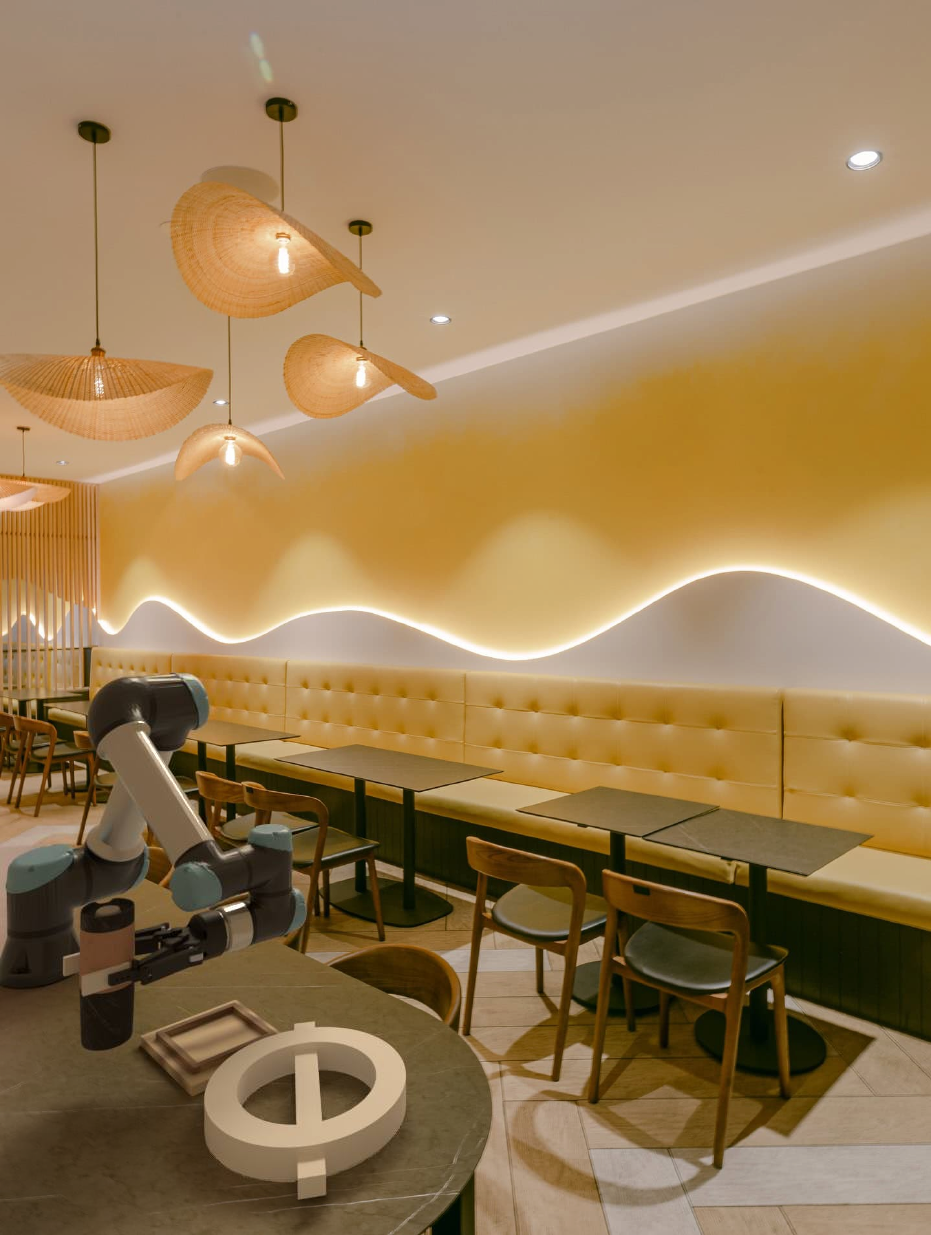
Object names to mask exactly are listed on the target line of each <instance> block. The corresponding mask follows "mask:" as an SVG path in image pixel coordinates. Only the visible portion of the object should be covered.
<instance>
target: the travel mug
mask: <svg viewBox="0 0 931 1235" xmlns="http://www.w3.org/2000/svg"><path fill="white" fill-rule="evenodd" d="M135 907H136V906H135V903H134V901H133V900H132V899H129V898H125V897H114V898H111V899H110V900H109V901H106V902H101V903H100V902H98V901H96V902H92V903H89V904H86V905H83V906H82V907H81V909H80V912H79V913H80V916H79V918H80V919H79V920H80V924H79V941H80V972H79V977H78V978H79V980H78V981H79V982H78V984H79V987H78V989H79V991H78V992H79V1016H80V1017H79V1020H80V1023H79V1024H80V1043H81V1045H82V1047H83V1049H86V1050H88V1051H93V1052H101V1051H107V1050H113V1049H115V1048H117V1047H119V1046H122V1045H124V1044H125V1043H126V1042H128V1041H129V1040H130V1039H131V1037H132V1035H133V1032H134V1010H135V1009H134V1008H135V985H136V984H135V983H136V982H132V981H130V982H126V983H123V984H120V985H117V986H114V987H111V988H108V989H105V990H102V991H99V992H96V993H93V994H90V995H87V996H83V995H82V976H83V975H86V974H90V973H93V972H96V971H99V970H103V969H106V968H109V967H113V966H117V965H120V964H122V963H125V962H129V963H130V968H131V967H132V959H136V956H135V931H136V926H135V924H136V923H135V922H136V921H135V918H136V916H135V910H136V908H135Z"/></svg>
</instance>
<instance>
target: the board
mask: <svg viewBox="0 0 931 1235" xmlns="http://www.w3.org/2000/svg"><path fill="white" fill-rule="evenodd" d="M279 1033H282V1032H280V1031H279V1030H278V1029H277V1028H275V1027H274V1026H273V1025H271V1024H270V1023H268V1022H267V1021H265V1020H264V1019H263V1018H261V1017H260V1016H259V1015H257V1014H256V1013H255V1012H254V1011H252V1010H251V1009H249V1008H248V1007H246V1006H245V1005H244V1004H242V1003H241V1002H240V1001H238V1000H237V999H234V1000H230V1001H229V1002H225V1003H224V1004H221V1005H218V1006H214V1007H213V1008H210V1009H208V1010H205V1011H203V1012H200V1013H197V1014H194V1015H192V1016H188V1017H187V1018H183V1019H181V1020H179V1021H177V1022H174V1023H171V1024H168V1025H165V1026H163V1027H161V1028H157V1029H155V1030H152V1031H149V1032H147V1033H145V1034H142V1035H140V1036H139V1037H140V1040H139V1041H140V1046H141V1047H142V1048H143V1049H144V1050H145V1051H146V1053H148V1055H150V1057H152V1058H153V1059H154V1061H156V1062H157V1063H158V1064H159V1065H160V1066H161V1067H162V1068H163V1069H164V1070H165V1071H166V1072H167V1073H168V1074H169V1075H170V1076H171V1077H172V1078H173V1079H174V1080H175V1081H176V1082H177V1083H178V1084H179V1085H180V1087H181V1088H183V1089H184V1090H185V1091H186V1092H187V1093H188V1094H189V1095H190V1096H191V1097H195V1096H197V1095H199V1094H201V1093H203V1092H204V1093H205V1090H206V1087H207V1084H208V1082H209V1080H210V1078H211V1077H212V1075H213V1074H214V1072H215V1071H216V1070H217V1069H218V1068H219V1066H220V1065H221V1064H222V1063H223V1062H225V1061H226V1060H227V1059H228V1058H229V1057H231V1056H232V1055H233V1054H235V1053H236V1052H238V1051H239V1050H241V1049H243V1048H244V1047H246V1046H248V1045H250V1044H252V1043H254V1042H256V1041H259V1040H261V1039H264V1038H266V1037H269V1036H272V1035H275V1034H279Z"/></svg>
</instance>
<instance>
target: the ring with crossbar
mask: <svg viewBox="0 0 931 1235" xmlns="http://www.w3.org/2000/svg"><path fill="white" fill-rule="evenodd" d="M293 1026H294V1027H293V1029H292V1030H286V1031H283V1032H281V1033H279V1034H275V1035H272V1036H269V1037H266V1038H264V1039H261V1040H259V1041H256V1042H254V1043H252V1044H250V1045H248V1046H246V1047H244V1048H243V1049H241V1050H239V1051H238V1052H236V1053H235V1054H233V1055H232V1056H231V1057H229V1058H228V1059H227V1060H226V1061H225V1062H223V1063H222V1064H221V1065H220V1066H219V1068H218V1069H217V1070H216V1071H215V1072H214V1074H213V1075H212V1077H211V1078H210V1080H209V1082H208V1084H207V1087H206V1090H205V1091H204V1098H203V1102H204V1107H203V1109H204V1112H203V1114H204V1121H203V1122H204V1127H203V1128H204V1129H203V1130H204V1131H203V1132H204V1140H205V1144H206V1146H207V1149H208V1148H209V1149H208V1150H209V1152H210V1151H211V1152H212V1153H213V1155H214V1156H215V1157H216V1159H218V1160H219V1161H220V1162H221V1163H222V1164H223V1165H225V1166H227V1167H228V1168H230V1169H231V1170H234V1171H236V1172H238V1173H241V1174H242V1175H248V1176H251V1177H257V1178H263V1179H274V1180H275V1179H276V1180H279V1179H280V1180H281V1179H283V1180H285V1179H287V1180H290V1179H297V1181H298V1182H297V1200H303V1199H310V1198H316V1197H322V1196H326V1195H327V1177H326V1175H327V1174H331V1173H334V1172H336V1171H339V1170H342V1169H344V1168H347V1167H348V1166H350V1165H352V1164H354V1163H356V1162H359V1161H360V1160H363V1159H364V1158H367V1157H368V1156H370V1155H372V1154H373V1153H374V1152H376V1151H377V1150H379V1149H380V1148H382V1146H384V1145H385V1144H386V1143H387V1142H388V1141H389V1140H390V1139H391V1138H392V1137H393V1136H394V1135H395V1134H396V1135H397V1133H398V1132H399V1130H400V1128H401V1127H402V1124H403V1123H404V1122H403V1121H404V1120H405V1115H406V1110H407V1072H406V1066H405V1063H404V1060H403V1059H402V1057H401V1056H400V1054H399V1053H398V1052H397V1050H396V1049H395V1048H394V1047H393V1046H391V1045H390V1044H389V1043H387V1042H386V1041H385V1040H383V1039H381V1038H379V1037H377V1036H375V1035H374V1034H373V1035H372V1034H371V1033H368V1032H365V1031H360V1030H357V1029H351V1028H345V1027H336V1026H335V1027H334V1026H318V1027H317V1026H316V1021H315V1020H314V1021H307V1022H298V1023H294V1025H293ZM319 1071H331V1072H337V1073H342V1074H346V1075H349V1076H352V1077H354V1078H356V1079H358V1080H360V1081H361V1082H363V1083H364V1084H365V1085H366V1086H368V1087H370V1088H369V1089H370V1091H369V1093H368V1095H366V1096H365V1098H364V1099H363V1100H362V1101H360V1102H359V1103H358V1104H356V1106H354V1107H352V1108H351V1109H350V1110H347V1111H345V1112H343V1113H341V1114H339V1115H337V1116H334V1117H331V1118H328V1119H325V1120H323V1116H322V1115H323V1114H322V1102H321V1091H320V1090H321V1089H320V1075H319V1073H320V1072H319ZM293 1074H294V1082H295V1085H294V1086H295V1088H294V1090H295V1123H296V1124H283V1123H282V1124H281V1123H275V1122H269V1121H266V1120H264V1119H260V1118H259V1117H256V1116H254V1115H253V1114H251V1113H249V1112H248V1111H247V1110H246V1109H245V1108H244V1107H243V1105H244V1104H245V1102H246V1101H247V1100H248V1099H249V1098H250V1097H251V1096H252V1095H253V1094H254V1093H255V1092H257V1091H258V1090H260V1087H261V1088H262V1087H263V1086H265V1085H267V1084H270V1083H271V1082H273V1081H275V1080H278V1079H280V1078H283V1077H286V1076H289V1075H293ZM257 1089H258V1090H257ZM252 1093H253V1094H252ZM250 1095H251V1096H250ZM249 1096H250V1097H249ZM247 1098H248V1099H247ZM400 1126H401V1127H400ZM398 1129H399V1130H398ZM397 1131H398V1132H397ZM396 1132H397V1133H396ZM396 1135H395V1136H396ZM395 1136H394V1137H395ZM394 1137H393V1138H394ZM211 1152H210V1153H211ZM213 1155H212V1156H213ZM214 1156H213V1157H214ZM215 1157H214V1158H215ZM216 1159H215V1160H216ZM221 1163H220V1164H221ZM222 1164H221V1165H222ZM223 1165H222V1166H223ZM228 1168H227V1169H228ZM231 1170H230V1171H231ZM242 1175H241V1176H242Z"/></svg>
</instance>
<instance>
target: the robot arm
mask: <svg viewBox="0 0 931 1235" xmlns="http://www.w3.org/2000/svg"><path fill="white" fill-rule="evenodd" d="M209 715H210V699H209V697H208V693H207V690H206V688H205V685H204V684H203V682H201V680H200V679H199V678H198V677H197V676H195V675H193V674H191V673H187V672H185V673H184V672H178V673H176V672H170V673H168V674H157V675H156V674H155V675H142V676H141V675H140V676H139V675H137V676H123V677H119V678H116V679H113V680H111V681H109V682H108V683H106V684H105V685H104V686H102V687H101V688H100V689H99V690H98V691H97V693H96V694H95V695H94V697H93V698H92V700H91V702H90V705H89V707H88V711H87V715H86V716H87V717H86V726H87V733H88V737H89V740H90V743H91V746H92V747H93V749H94V750H95V752H96V754H97V756H98V757H99V758H100V759H102V760H103V761H108V762H109V763H110V765H111V767H112V769H113V770H114V771H115V773H116V777H115V780H114V783H113V786H112V788H111V790H110V791H111V792H110V795H109V797H108V800H107V802H106V804H105V808H104V811H103V812H102V813H103V814H102V817H101V818H100V822H99V824H97V825H95V826H94V827H92V828H91V829H90V830H89V831H88V833H87V835H86V838H85V841H84V843H83V845H82V846H78V847H75V848H73V847H72V846H71V845H68V844H64V843H63V844H59V843H58V844H57V843H56V844H52V845H49V846H47V845H43V846H40V847H37V848H34V849H31V850H28V851H26V852H24V853H22V854H19V855H18V856H17V857H16V858H14V859H13V860H12V862H11V863H9V865H8V867H7V872H6V873H7V874H6V882H5V890H6V939H5V942H4V945H3V948H2V952H1V954H0V985H1V986H4V987H6V988H15V989H22V988H23V989H25V988H26V989H27V988H36V987H41V986H46V985H49V984H53V983H56V982H59V981H62V980H65V979H67V978H69V977H70V976H73V975H75V974H76V973H77V974H79V973H80V937H79V936H78V933H77V931H76V927H75V923H74V920H75V919H74V918H75V916H74V911H75V909H76V908H79V907H84V906H86V905H87V904H89V903H92V902H99V901H102V900H105V899H109V898H111V897H115V896H119V895H121V894H124V893H127V892H128V891H130V890H133V889H134V888H137V887H138V886H139V885H141V883H142V882H143V881H144V879H145V877H146V876H147V874H148V871H149V868H150V860H149V859H148V858H149V857H150V851H149V848H148V847H149V846H148V845H147V843H146V841H145V839H144V836H143V835H142V834H143V831H144V829H145V826H146V825H147V826H148V827H149V830H150V831H151V832H152V834H153V836H154V837H155V839H156V841H157V843H158V844H159V845H160V847H161V849H162V850H163V852H164V854H165V856H166V857H167V858H168V861H169V862H170V863H171V865H172V867H173V869H174V870H172V872H171V874H170V877H169V886H168V889H169V890H170V892H171V899H172V901H173V903H174V904H175V906H176V907H178V908H179V909H180V910H182V912H183V911H184V912H188V913H192V912H195V911H201V910H204V909H207V908H211V907H214V906H216V905H217V904H219V903H221V902H224V901H226V900H228V899H232V898H234V897H236V896H238V895H239V896H240V895H242V894H245V893H248V898H247V899H245V900H240V901H236V902H232V903H229V904H226V905H221V906H218V907H216V908H215V909H209V910H205V911H201V912H199V913H195V914H193V915H192V916H191V918H190V919H189V922H188V923H187V925H186V926H177V927H176V926H175V927H172V928H171V927H170V922H166V921H165V922H163V923H160V924H157V925H154V926H151V927H150V926H149V927H146V928H142V929H138V930H135V957H137V956H142V955H146V956H144V957H142V958H140V959H137V958H135V959H132V967H131V968H130V963H129V962H125V963H122V964H120V965H117V966H113V967H109V968H106V969H103V970H99V971H96V972H93V973H90V974H86V975H83V976H82V995H83V996H87V995H90V994H93V993H96V992H99V991H102V990H105V989H108V988H111V987H114V986H117V985H120V984H123V983H126V982H130V981H132V982H135V983H138V982H140V985H141V986H146V985H149V984H152V983H155V982H156V981H159V980H161V979H164V978H168V977H169V976H171V975H174V974H177V973H179V972H181V971H184V970H187V969H188V968H192V967H197V966H200V965H203V963H204V962H206V961H208V960H209V961H210V960H211V959H215V958H218V957H221V956H222V955H223V954H229V953H231V952H232V953H237V952H238V950H241V949H244V948H247V947H250V946H253V945H256V944H259V943H264V942H266V941H268V940H269V941H270V940H272V939H273V940H274V939H275V938H280V937H284V936H285V935H288V934H290V933H292V932H294V931H296V930H299V929H300V928H301V927H302V926H303V925H304V923H305V922H306V919H307V915H308V906H307V905H306V903H305V902H306V899H305V895H304V894H303V893H302V891H301V890H300V889H299V888H297V887H294V886H293V853H294V846H293V834H292V830H291V829H290V828H289V827H288V826H286V825H284V824H279V823H268V824H267V823H266V824H260V825H257V826H256V825H255V827H253V828H251V830H249V832H248V836H247V844H244V845H241V846H237V847H234V848H231V849H227V850H225V851H223V850H222V849H221V847H220V846H219V844H218V843H217V841H216V840H215V838H214V837H213V835H212V833H211V831H210V830H209V829H208V828H207V826H206V824H205V823H204V821H203V820H202V818H201V816H200V815H199V813H198V812H197V810H196V808H195V807H194V805H193V804H192V803H191V800H190V799H189V798H188V795H187V794H186V792H184V790H183V788H182V787H181V785H180V784H179V782H178V780H177V779H176V777H175V776H174V774H173V773H172V770H170V768H169V764H170V761H171V758H172V756H173V753H174V752H177V751H179V750H181V749H182V748H184V746H185V744H186V741H187V740H188V736H189V734H190V732H191V731H197V730H199V729H200V728H203V726H205V724H206V723H207V722H208V719H209V717H210V716H209ZM159 944H160V945H159Z"/></svg>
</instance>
